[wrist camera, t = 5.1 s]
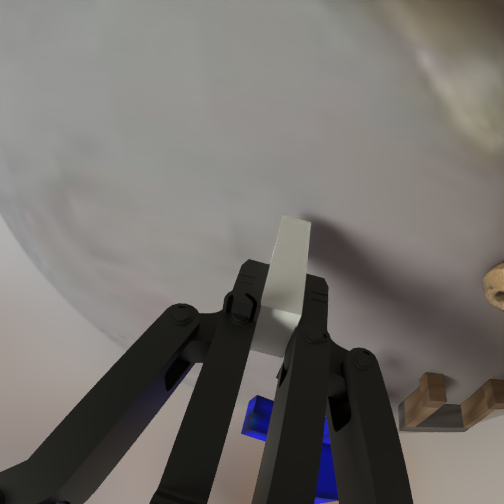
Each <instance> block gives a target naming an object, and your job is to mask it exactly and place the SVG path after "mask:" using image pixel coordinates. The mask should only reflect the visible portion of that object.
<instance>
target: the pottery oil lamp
mask: <svg viewBox="0 0 504 504" xmlns="http://www.w3.org/2000/svg"><path fill="white" fill-rule="evenodd" d="M483 288H484V294H485V296H486V298H487V300H488V301H489V302H490V303H491V304H492V305H493V306H494V307H496V308H498V309H500V310H502V311H504V262H503V263H500V264H499V265H497V266H496V267H494V268H493V269H491V270H490V271H489V272H487V273H486V275H485V276H484V278H483Z"/></svg>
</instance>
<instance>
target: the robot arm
mask: <svg viewBox="0 0 504 504" xmlns="http://www.w3.org/2000/svg"><path fill="white" fill-rule="evenodd" d="M310 229H311V222H308V221H305V220H301V219H297V218H294V217H290V216H286V215H283V217H282V220H281V224H280V228H279V232H278V236H277V239H276V243H275V247H274V251H273V254H272V258H271V262H270V265H269V264H265V263H261V262H258V261H254V260H250V259H249V260H247V261H246V262H245V263H244V264H242V266H241V269H240V271H239V274H238V277H237V280H236V282H235V285H234V287H233V290H232V291H231V292H229V293H227V295H226V296H225V298H224V304H223V310H221V311H219V312H216V313H199V312H198V311H197V309H195V308H194V307H193V306H191V305H188V304H181V303H178V304H175V305H172V306H170V307H169V308H167V309H166V310H165V311H164V313H163V314H162V315H161V316H160V317H159V318H158V319H157V320H156V321H155V322H154V323H153V324H152V325H151V326H150V327H149V328H148V329H147V330H146V331H145V332H144V333H143V335H142V336H141V337H140V338H139V339H138V340H137V341H136V342H135V343H134V344H133V345H132V346H131V347H130V348H129V349H128V350H127V351H126V353H125V354H124V355H123V356H122V357H121V358H120V359H119V360H118V361H117V362H116V363H115V364H114V365H113V366H112V367H111V369H110V370H109V371H108V372H107V373H106V374H105V375H104V376H103V377H102V378H101V379H100V380H99V381H98V382H97V384H96V385H95V386H94V387H93V388H92V389H91V390H90V391H89V392H88V393H87V394H86V396H85V397H84V398H83V399H82V400H81V401H80V402H79V403H78V404H77V405H76V406H75V407H74V409H73V410H72V411H71V412H70V413H69V414H68V415H67V416H66V417H65V419H64V420H63V421H62V422H61V423H60V424H59V425H58V426H57V427H56V428H55V430H54V431H53V432H52V433H51V434H50V435H49V436H48V437H47V438H46V440H45V441H44V442H43V443H42V444H41V445H40V446H39V448H38V449H37V450H36V451H35V452H34V453H33V454H32V455H31V457H30V458H29V459H28V460H26V461H24V462H22V463H20V464H18V465H16V466H13V467H11V468H9V469H6V470H4V471H2V472H0V504H83V503H84V502H86V500H88V499H89V498H90V496H91V495H92V494H93V493H94V492H95V491H96V490H97V489H98V487H99V486H100V485H101V484H102V482H103V481H104V480H105V479H106V477H107V476H108V475H109V474H110V472H111V471H112V470H113V468H114V467H115V466H116V465H117V464H118V462H119V461H120V460H121V459H122V457H123V456H124V455H125V453H126V452H127V451H128V450H129V449H130V447H131V446H132V445H133V443H134V442H135V441H136V440H137V438H138V437H139V436H140V434H141V433H142V432H143V431H144V429H145V428H146V427H147V426H148V424H149V423H150V422H151V420H152V419H153V418H154V417H155V415H156V414H157V413H158V411H159V410H160V409H161V407H162V406H163V405H164V404H165V402H166V401H167V400H168V398H169V397H170V396H171V394H172V393H173V392H174V390H175V389H176V388H177V387H178V385H179V384H180V383H181V381H182V380H183V379H184V377H185V376H186V375H187V373H188V372H189V371H190V370H191V368H192V367H193V366H194V364H195V363H203V366H202V369H201V371H200V374H199V377H198V379H197V382H196V385H195V388H194V390H193V393H192V396H191V399H190V401H189V404H188V407H187V409H186V412H185V415H184V418H183V420H182V423H181V426H180V429H179V431H178V434H177V437H176V440H175V442H174V445H173V448H172V451H171V454H170V456H169V459H168V462H167V465H166V467H165V470H164V473H163V476H162V478H161V482H160V484H159V487H158V489H157V490H156V492H155V493H154V495H153V497H152V499H151V501H150V504H207V502H208V498H209V495H210V492H211V488H212V485H213V481H214V478H215V474H216V471H217V467H218V464H219V460H220V457H221V453H222V449H223V446H224V443H225V439H226V435H227V432H228V428H229V425H230V421H231V417H232V413H233V410H234V407H235V403H236V399H237V396H238V392H239V388H240V385H241V381H242V377H243V373H244V370H245V366H246V362H247V358H248V354H249V351H250V350H254V351H258V352H262V353H266V354H270V355H274V356H278V357H282V358H283V356H284V354H285V356H284V362H283V364H282V366H281V368H280V370H279V372H278V374H277V377H276V378H278V384H277V389H276V394H275V399H274V404H273V409H272V414H271V419H270V424H269V429H268V433H267V438H266V443H265V448H264V452H263V457H262V461H261V465H260V470H259V474H258V478H257V483H256V487H255V491H254V495H253V500H252V504H314V502H315V496H316V489H317V483H318V476H319V468H320V461H321V453H322V444H323V435H324V426H325V416H326V419H327V425H328V431H329V438H330V444H331V450H332V457H333V464H334V471H335V478H336V485H337V493H338V500H339V504H413V499H412V495H411V489H410V484H409V479H408V474H407V470H406V465H405V461H404V457H403V452H402V448H401V444H400V440H399V435H398V431H397V428H396V424H395V420H394V416H393V412H392V409H391V405H390V401H389V398H388V394H387V391H386V387H385V384H384V381H383V377H382V374H381V371H380V367H379V364H378V361H377V359H376V357H375V355H373V354H372V353H371V352H370V351H369V350H367V349H365V348H353V349H352V350H351V351H348V350H346V349H344V348H342V347H340V346H339V345H337V344H336V343H334V342H333V341H332V339H331V338H330V335H329V333H328V331H327V317H328V285H327V283H326V281H325V279H324V278H321V277H317V276H314V275H310V274H306V271H307V261H308V251H309V240H310Z"/></svg>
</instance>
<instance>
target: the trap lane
mask: <svg viewBox="0 0 504 504" xmlns="http://www.w3.org/2000/svg"><path fill="white" fill-rule="evenodd" d="M419 381H420V387H419V388H418V389H416V390H415V391H414V392H413V393H412V394H411V395H410V396H409V397H408V398H407V399H406V400H405V401H404V402H402V403H401V404H400V405H399V406H398V409H399V431H413V432H465V431H466V430H468V429H469V428H471V427H472V426H474V425H475V424H476V423H478V422H479V421H481V420H482V419H483V418H485V417H486V416H487V415H489V414H490V413H491V412H492V411H494V410H495V409H504V380H491V379H490V380H489V381H488V382H487V383H486V384H484V385H483V386H482V387H481V388H480V389H479V390H478V391H477V392H476V393H474V394H473V395H472V396H471V397H470V398H469V399H467V400H466V401H465V402H464V403H462V404H461V405H448V404H445V403H446V402H447V399H446V392H445V386H444V380H443V375H441V374H433V373H425V374H424V375H423V376H422V377H421V378H420V379H419Z"/></svg>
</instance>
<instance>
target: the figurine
mask: <svg viewBox="0 0 504 504" xmlns="http://www.w3.org/2000/svg"><path fill="white" fill-rule="evenodd" d="M273 404H274V401H272V400H269V399H267V398H264V397H261V396H259V395H256V396H255V397H254V398H253V399H251V400H250V401H249V404H248V408H247V412H246V416H245V420H244V424H243V428H242V432H241V434H244V435H247V436H250V437H253V438H256V439H259V440H262V441H266V438H267V433H268V429H269V424H270V419H271V414H272V409H273ZM332 501H338V493H337V485H336V478H335V471H334V464H333V457H332V450H331V444H330V438H329V431H328V425H327V419H326V417H325V426H324V435H323V444H322V453H321V461H320V468H319V476H318V483H317V489H316V496H315V502H314V504H320V503H326V502H332Z"/></svg>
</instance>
